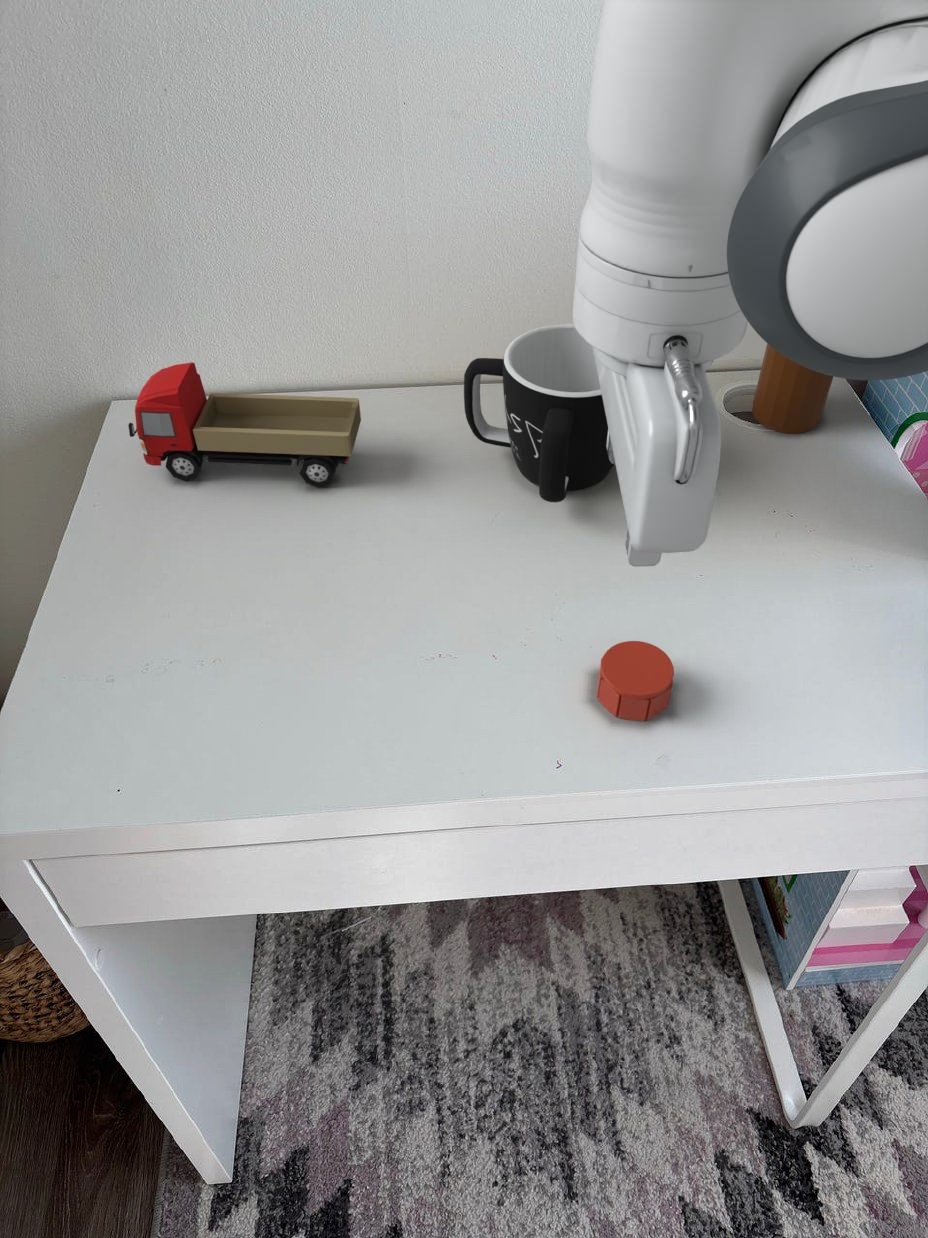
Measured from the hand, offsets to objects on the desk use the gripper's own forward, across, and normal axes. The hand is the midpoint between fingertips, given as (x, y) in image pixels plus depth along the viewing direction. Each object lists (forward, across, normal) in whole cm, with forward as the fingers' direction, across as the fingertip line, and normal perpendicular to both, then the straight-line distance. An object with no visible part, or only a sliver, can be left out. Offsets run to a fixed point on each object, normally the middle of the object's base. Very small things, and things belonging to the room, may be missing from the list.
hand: (630, 504), depth 58 cm
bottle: (+20, +38, -23) cm, 49 cm away
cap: (+20, +2, -3) cm, 20 cm away
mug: (+20, +30, 0) cm, 37 cm away
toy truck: (+20, +31, +30) cm, 48 cm away
